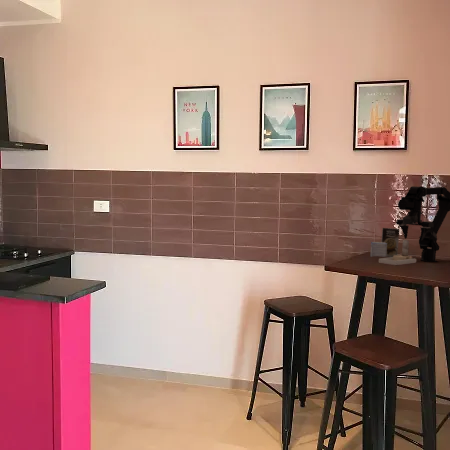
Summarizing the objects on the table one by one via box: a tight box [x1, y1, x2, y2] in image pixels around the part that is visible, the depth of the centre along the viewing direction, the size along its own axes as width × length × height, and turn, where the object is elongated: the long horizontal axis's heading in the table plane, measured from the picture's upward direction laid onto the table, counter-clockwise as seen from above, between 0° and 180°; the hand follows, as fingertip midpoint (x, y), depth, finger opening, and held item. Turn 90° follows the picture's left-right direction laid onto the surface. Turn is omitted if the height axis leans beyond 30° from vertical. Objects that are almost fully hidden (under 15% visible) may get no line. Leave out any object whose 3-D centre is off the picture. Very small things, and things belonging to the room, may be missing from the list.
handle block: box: [393, 239, 413, 261], centre depth 269 cm, size 7×6×11 cm
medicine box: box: [369, 241, 387, 258], centre depth 291 cm, size 8×4×9 cm, turn 84°
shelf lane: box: [378, 257, 417, 266], centre depth 267 cm, size 19×10×3 cm, turn 130°
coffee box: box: [380, 227, 400, 258], centre depth 299 cm, size 9×6×16 cm
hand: (413, 239), depth 280 cm, fingers open, 9 cm apart
